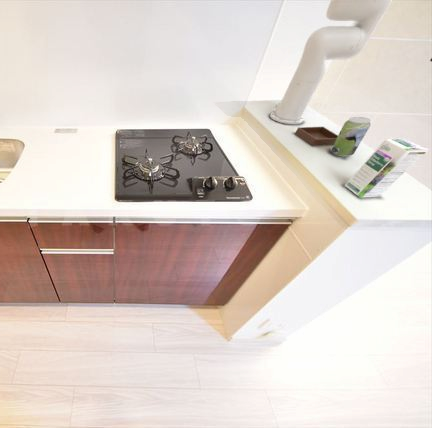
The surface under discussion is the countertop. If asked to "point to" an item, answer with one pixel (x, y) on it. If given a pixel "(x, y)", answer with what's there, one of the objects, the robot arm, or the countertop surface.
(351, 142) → the beverage can
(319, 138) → the tray
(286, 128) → the countertop surface
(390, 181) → the syrup box
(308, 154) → the countertop surface
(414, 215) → the countertop surface
